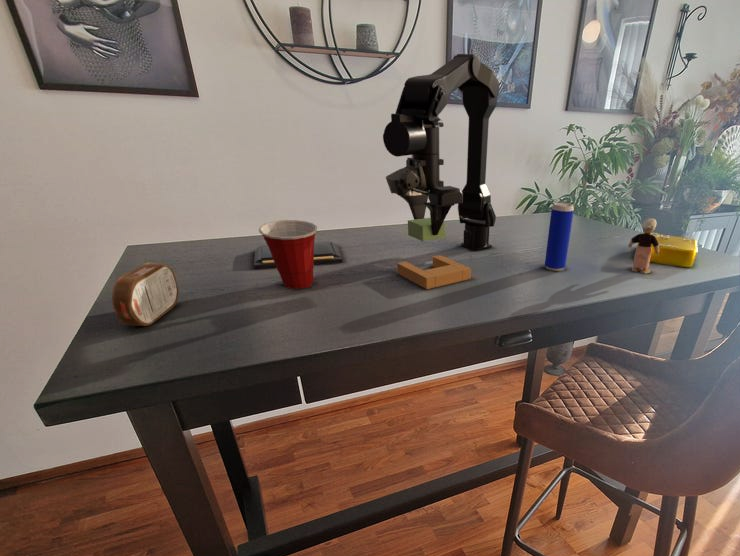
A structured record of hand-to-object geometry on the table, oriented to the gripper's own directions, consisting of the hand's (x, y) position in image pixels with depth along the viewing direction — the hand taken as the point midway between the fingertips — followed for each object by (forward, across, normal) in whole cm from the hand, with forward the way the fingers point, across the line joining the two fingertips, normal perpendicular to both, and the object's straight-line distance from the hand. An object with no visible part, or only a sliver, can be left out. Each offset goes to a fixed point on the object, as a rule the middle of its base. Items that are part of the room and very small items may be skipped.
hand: (427, 231), depth 98 cm
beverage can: (+10, +14, +29) cm, 33 cm away
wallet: (+10, -27, -20) cm, 35 cm away
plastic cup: (+10, -8, -27) cm, 30 cm away
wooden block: (+9, +3, 0) cm, 10 cm away
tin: (+10, -6, -53) cm, 54 cm away
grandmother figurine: (+10, +27, +46) cm, 54 cm away
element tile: (+10, +24, +63) cm, 68 cm away
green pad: (+1, 0, 0) cm, 1 cm away
